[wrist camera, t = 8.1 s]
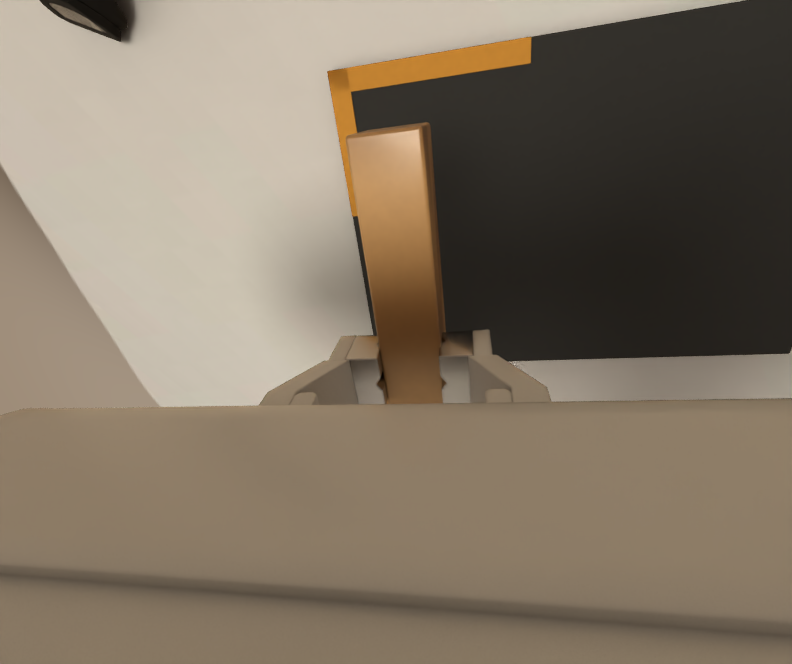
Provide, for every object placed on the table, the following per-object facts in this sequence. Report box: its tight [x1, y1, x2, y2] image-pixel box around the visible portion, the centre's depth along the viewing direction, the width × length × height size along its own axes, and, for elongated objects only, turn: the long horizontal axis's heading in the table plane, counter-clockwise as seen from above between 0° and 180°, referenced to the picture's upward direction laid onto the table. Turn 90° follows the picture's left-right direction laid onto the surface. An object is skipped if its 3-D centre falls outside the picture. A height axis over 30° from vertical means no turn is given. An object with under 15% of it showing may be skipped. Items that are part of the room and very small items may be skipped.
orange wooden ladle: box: [345, 122, 446, 404], centre depth 13 cm, size 13×5×3 cm, turn 6°
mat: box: [327, 0, 792, 361], centre depth 22 cm, size 24×17×1 cm
